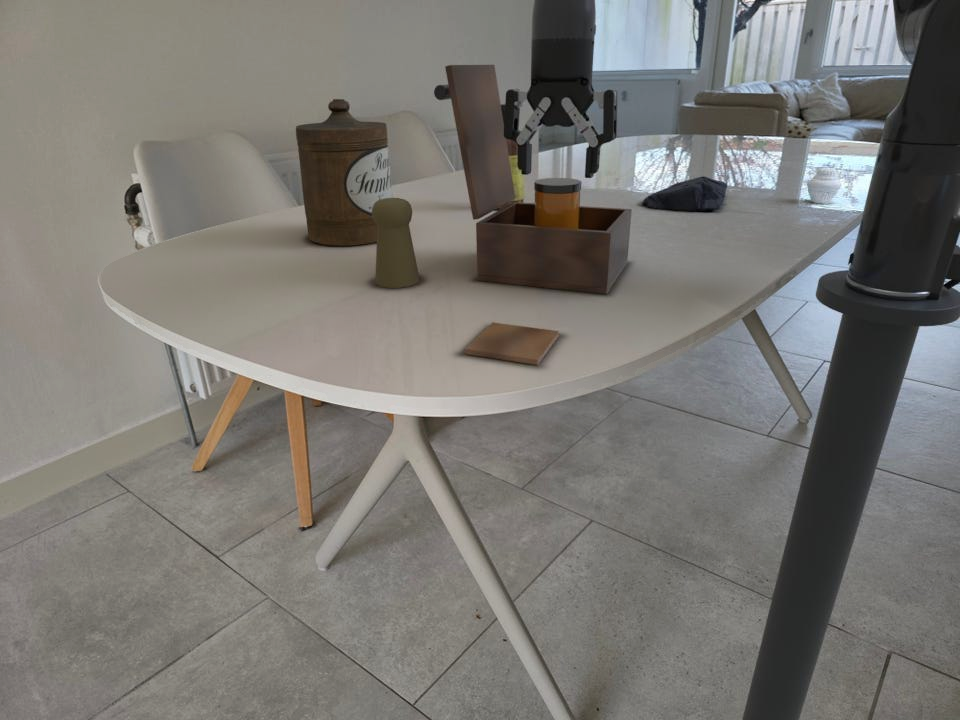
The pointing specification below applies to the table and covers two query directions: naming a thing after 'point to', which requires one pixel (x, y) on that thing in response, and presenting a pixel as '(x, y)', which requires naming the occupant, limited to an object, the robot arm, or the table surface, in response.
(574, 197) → the honey jar
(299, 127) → the wooden container
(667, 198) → the dark slate chunk
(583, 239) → the chest
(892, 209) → the robot arm
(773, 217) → the table surface
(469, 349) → the coaster
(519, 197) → the sauce bottle
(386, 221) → the pepper shaker
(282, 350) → the table surface
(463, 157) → the lid
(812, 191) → the white vase
